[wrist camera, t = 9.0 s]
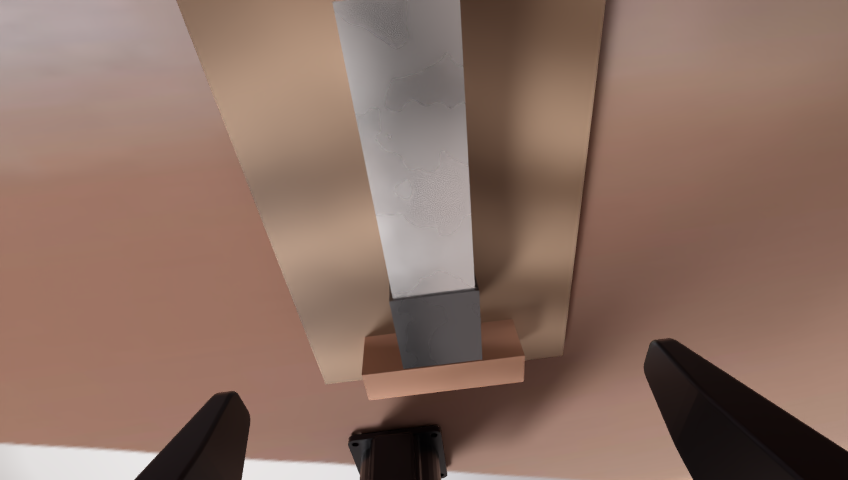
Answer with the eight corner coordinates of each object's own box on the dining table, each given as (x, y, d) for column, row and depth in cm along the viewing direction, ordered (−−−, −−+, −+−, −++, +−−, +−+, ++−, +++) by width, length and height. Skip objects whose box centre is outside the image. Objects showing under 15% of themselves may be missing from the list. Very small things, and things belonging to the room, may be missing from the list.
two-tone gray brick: (469, 302, 21) (482, 359, 18) (402, 310, 21) (403, 369, 18) (448, -18, 13) (465, -16, 10) (342, -4, 13) (325, 3, 10)
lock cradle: (556, 342, 24) (578, 392, 21) (327, 370, 24) (318, 423, 22) (620, -254, 11) (701, -337, 8) (121, -186, 11) (24, -242, 8)
